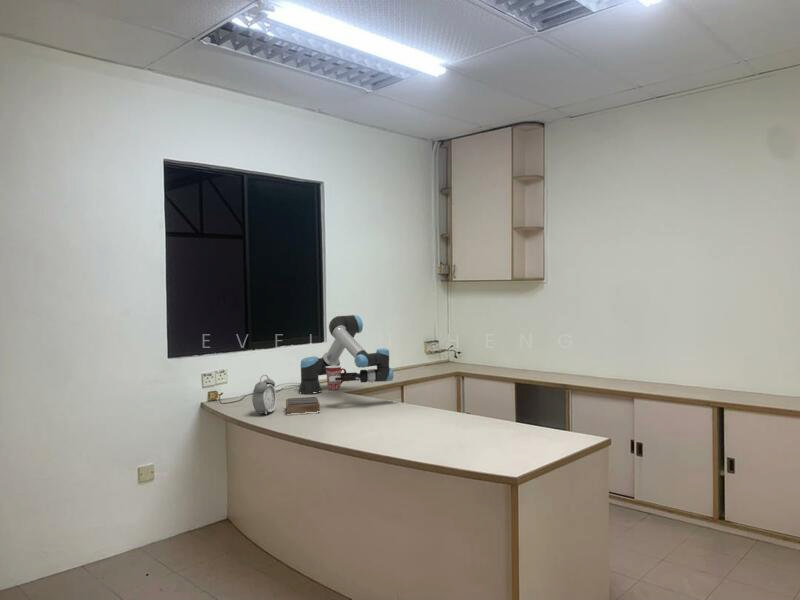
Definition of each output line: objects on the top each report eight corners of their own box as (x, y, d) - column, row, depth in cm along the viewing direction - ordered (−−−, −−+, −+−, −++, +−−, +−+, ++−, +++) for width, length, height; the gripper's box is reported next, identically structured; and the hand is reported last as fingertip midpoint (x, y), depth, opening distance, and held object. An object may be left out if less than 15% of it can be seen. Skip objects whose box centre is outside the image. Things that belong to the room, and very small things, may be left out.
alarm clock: (265, 417, 303) (264, 377, 303) (251, 416, 305) (250, 377, 304) (278, 410, 319) (277, 372, 319) (264, 410, 321) (263, 372, 321)
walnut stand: (286, 408, 325) (286, 398, 325) (317, 406, 329) (317, 396, 329) (287, 415, 307) (286, 404, 307) (319, 413, 311) (319, 402, 311)
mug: (330, 391, 318) (329, 368, 318) (323, 389, 326) (323, 366, 325) (349, 389, 325) (349, 366, 324) (342, 386, 332) (342, 364, 332)
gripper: (370, 385, 319) (330, 387, 313) (364, 379, 339) (326, 380, 334) (370, 372, 318) (330, 374, 313) (364, 366, 339) (326, 368, 334)
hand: (328, 377), depth 323 cm, fingers closed on mug, 8 cm apart
